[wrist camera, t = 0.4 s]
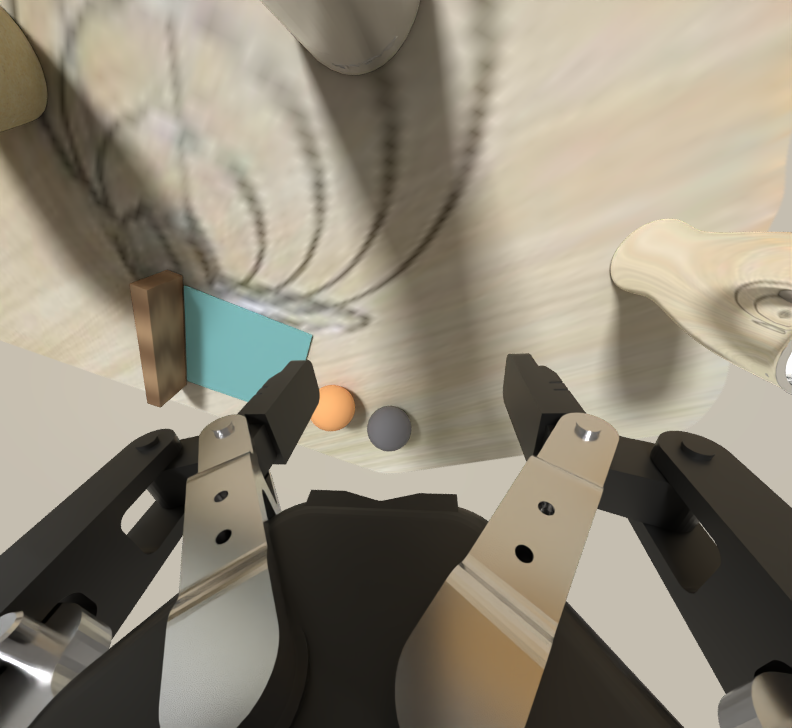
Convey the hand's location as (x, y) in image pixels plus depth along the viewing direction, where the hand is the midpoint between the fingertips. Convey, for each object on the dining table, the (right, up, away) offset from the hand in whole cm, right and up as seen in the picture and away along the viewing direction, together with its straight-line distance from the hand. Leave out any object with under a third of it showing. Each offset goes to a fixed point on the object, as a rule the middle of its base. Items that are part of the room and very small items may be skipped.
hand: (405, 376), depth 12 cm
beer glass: (+22, +10, +13) cm, 27 cm away
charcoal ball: (-1, -8, +23) cm, 25 cm away
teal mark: (-19, +1, +23) cm, 30 cm away
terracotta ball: (-8, -5, +22) cm, 24 cm away
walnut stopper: (-26, +4, +22) cm, 34 cm away
